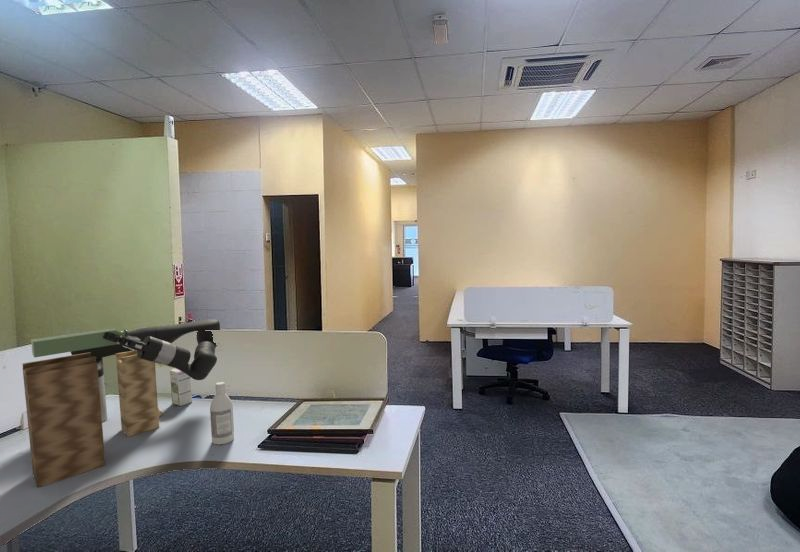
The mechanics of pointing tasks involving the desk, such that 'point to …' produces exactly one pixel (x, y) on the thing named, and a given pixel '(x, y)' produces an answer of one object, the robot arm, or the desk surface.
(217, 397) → the bath foam
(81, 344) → the sage green plank
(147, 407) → the block
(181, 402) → the syrup box
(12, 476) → the desk surface
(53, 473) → the brown patterned box
